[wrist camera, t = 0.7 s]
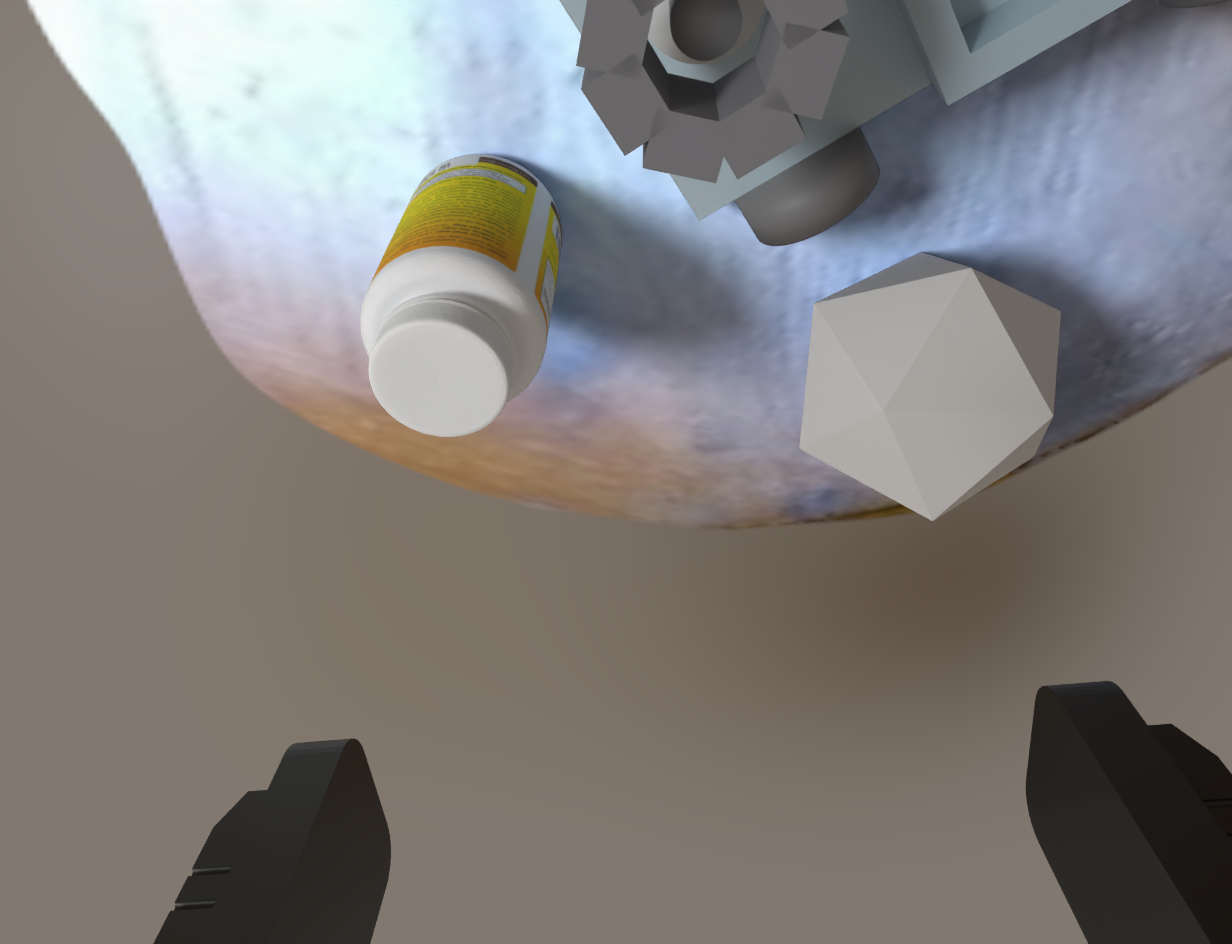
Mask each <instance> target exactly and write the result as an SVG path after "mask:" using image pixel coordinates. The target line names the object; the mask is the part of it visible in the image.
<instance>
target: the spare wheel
mask: <svg viewBox="0 0 1232 944" xmlns="http://www.w3.org/2000/svg"><path fill="white" fill-rule="evenodd" d="M663 1H665V0H587V4H586V10H585V16H584V22H583V28H582V34H581V40H580V46H579V52H578V58H577V64H576V66H580V67H584V68H585V71H584V76H583V82H582V88H581V90H582V91H583V93H584V94H585V96H586V97H587V99H588V100H589V102H590V103H591V105H592V106H593V108H594V110H595V111H596V113H597V114H598V116H599V117H600V119H601V120H602V122H603V123H604V125H605V126H606V128H607V129H608V131H609V132H610V134H611V135H612V137H613V138H614V140H615V141H616V143H617V145H618V146H619V148H620V149H621V151H622V152H623V154H624V155H627V154H629V153H630V152H632V151H633V150H635V149H636V148H638V147H639V146H641V145H643V168H645V169H650V170H655V171H660V172H664V173H669V174H674V175H678V176H683V177H688V178H693V179H697V180H702V181H707V182H712V183H716V182H717V179H718V175H719V172H720V168H721V165H722V161H723V158H725V159H726V161H727V163H728V164H729V166H730V168H731V169H732V171H733V173H734V174H735V176H736V178H737V180H738V179H740V178H741V177H743V176H745V175H746V174H748V173H750V172H751V171H753V170H755V169H756V168H758V167H760V166H761V165H763V164H765V163H766V162H768V161H770V160H771V159H773V158H775V157H776V156H778V155H780V154H781V153H783V152H785V151H786V150H788V149H790V148H791V147H793V146H795V145H796V144H798V143H800V142H801V141H803V140H805V139H806V136H805V134H804V131H803V128H802V126H801V123H800V120H799V118H798V115H801V116H806V117H810V118H815V119H819V120H822V117H823V114H824V111H825V108H826V105H827V102H828V99H829V96H830V94H831V91H832V88H833V85H834V82H835V79H836V76H837V73H838V70H839V67H840V64H841V62H842V59H843V56H844V53H845V50H846V47H847V44H848V41H849V38H850V36H849V35H848V33H847V32H846V30H845V28H844V27H843V25H842V24H841V22H840V20H839V19H838V18H840V17H842V16H843V15H845V14H846V13H848V12H849V10H848V8H847V6H846V4H845V1H844V0H763V1H764V3H765V5H766V7H767V9H768V10H767V13H766V17H765V20H764V24H763V27H762V31H761V34H760V38H759V42H758V45H757V49H756V52H755V56H754V57H752V58H751V59H749V60H748V61H746V62H745V63H743V64H742V65H740V66H738V67H737V68H735V69H734V70H732V71H731V72H729V73H728V74H726V75H725V76H723V77H722V78H720V79H718V80H717V81H715V82H714V83H710V82H706V81H701V80H697V79H692V78H688V77H683V76H679V75H674V74H670V73H667V71H666V69H665V68H664V66H663V64H662V63H661V61H660V59H659V58H658V56H657V54H656V53H655V51H654V49H653V47H652V46H651V44H650V42H649V41H648V34H649V29H650V24H651V20H652V15H653V10H654V8H655V7H656V6H658V5H659V4H661V3H662V2H663Z"/></svg>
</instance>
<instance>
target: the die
mask: <svg viewBox="0 0 1232 944" xmlns="http://www.w3.org/2000/svg"><path fill="white" fill-rule="evenodd" d="M1060 319H1061V311H1059V310H1057V309H1055V308H1053V307H1051V306H1049V305H1047V304H1045V303H1043V302H1041V301H1039V300H1037V299H1035V298H1033V297H1031V296H1028V295H1026V294H1024V293H1022V292H1020V291H1018V290H1016V289H1014V288H1012V287H1010V286H1008V285H1006V284H1004V283H1002V282H999V281H997V280H995V279H993V278H991V277H989V276H987V275H985V274H983V273H981V272H979V271H977V270H975V269H973V268H970V267H967V266H964V265H961V264H958V263H954V262H951V261H948V260H945V259H942V258H939V257H935V256H932V255H929V254H926V253H923V252H920V253H918V254H916V255H914V256H912V257H909V258H907V259H905V260H903V261H901V262H899V263H897V264H895V265H893V266H891V267H889V268H887V269H884V270H882V271H880V272H878V273H876V274H874V275H872V276H870V277H868V278H866V279H864V280H862V281H859V282H857V283H855V284H853V285H851V286H849V287H847V288H845V289H843V290H841V291H839V292H837V293H834V294H832V295H830V296H828V297H826V298H824V299H822V300H820V301H818V302H816V303H814V306H813V316H812V326H811V337H810V347H809V357H808V367H807V377H806V387H805V398H804V408H803V418H802V428H801V438H800V448H799V449H801V450H803V451H805V452H806V453H808V454H810V455H812V456H814V457H816V458H817V459H819V460H821V461H823V462H825V463H827V464H829V465H830V466H832V467H834V468H836V469H838V470H840V471H841V472H843V473H845V474H847V475H849V476H851V477H852V478H854V479H856V480H858V481H860V482H862V483H863V484H865V485H867V486H869V487H871V488H873V489H875V490H876V491H878V492H880V493H882V494H884V495H886V496H887V497H889V498H891V499H893V500H895V501H897V502H898V503H900V504H902V505H904V506H906V507H908V508H909V509H911V510H913V511H915V512H917V513H919V514H921V515H922V516H924V517H926V518H928V519H930V520H932V521H934V520H935V519H937V518H938V517H940V516H942V515H943V514H944V513H946V512H948V511H949V510H951V509H952V508H954V507H955V506H957V505H959V504H960V503H962V502H963V501H965V500H967V499H968V498H970V497H971V496H973V495H974V494H976V493H978V492H979V491H981V490H982V489H984V488H985V487H987V486H989V485H990V484H992V483H993V482H995V481H996V480H998V479H999V478H1001V477H1003V476H1004V475H1006V474H1007V473H1009V472H1010V471H1012V470H1014V469H1015V468H1017V467H1018V466H1020V465H1021V464H1023V463H1025V462H1026V461H1028V460H1029V459H1031V458H1032V457H1034V455H1035V453H1036V451H1037V449H1038V447H1039V445H1040V443H1041V441H1042V439H1043V437H1044V435H1045V433H1046V431H1047V428H1048V426H1049V424H1050V422H1051V420H1052V418H1053V415H1054V402H1055V388H1056V374H1057V360H1058V347H1059V333H1060Z"/></svg>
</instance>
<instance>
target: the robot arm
mask: <svg viewBox="0 0 1232 944" xmlns="http://www.w3.org/2000/svg"><path fill="white" fill-rule="evenodd" d="M1034 707H1035V708H1034V716H1033V724H1032V733H1031V741H1030V750H1029V760H1028V768H1027V777H1026V798H1027V805H1028V811H1029V816H1030V819H1031V823H1032V826H1033V829H1034V832H1035V835H1036V837H1037V840H1038V842H1039V844H1040V846H1041V848H1042V850H1043V852H1044V854H1045V856H1046V858H1047V860H1048V862H1049V864H1050V866H1051V869H1052V870H1053V873H1054V875H1055V877H1056V879H1057V881H1058V883H1059V885H1060V887H1061V889H1062V891H1063V893H1064V895H1065V897H1066V899H1067V901H1068V903H1069V905H1070V907H1071V909H1072V911H1073V913H1074V915H1075V917H1076V919H1077V921H1078V923H1079V926H1080V928H1081V930H1082V932H1083V934H1084V936H1085V938H1086V940H1087V942H1088V944H1232V774H1231V773H1230V772H1229V770H1228V769H1227V768H1226V767H1225V765H1224V764H1223V763H1222V761H1221V760H1220V759H1219V758H1218V756H1216V755H1215V754H1213V753H1212V752H1211V751H1209V750H1208V749H1206V748H1205V747H1203V746H1202V745H1201V744H1199V743H1198V742H1196V741H1195V740H1193V739H1192V738H1191V737H1189V736H1188V735H1186V734H1185V733H1184V732H1182V731H1181V730H1179V729H1178V728H1177V727H1175V726H1174V725H1172V724H1162V725H1149V726H1148V725H1147V724H1146V723H1145V721H1144V720H1143V718H1142V717H1141V716H1140V714H1139V713H1138V712H1137V710H1136V709H1135V707H1134V706H1133V705H1132V703H1131V702H1130V700H1129V699H1128V698H1127V696H1126V695H1125V694H1124V692H1123V691H1122V690H1121V689H1120V687H1119V686H1117V685H1116V684H1115V683H1113V682H1111V681H1102V682H1090V683H1089V682H1088V683H1075V684H1063V685H1050V686H1042V687H1041V688H1040V689H1039V690H1038V692H1037V695H1036V699H1035V706H1034ZM390 845H391V844H390V834H389V829H388V825H387V822H386V818H385V815H384V813H383V809H382V806H381V803H380V800H379V796H378V793H377V790H376V787H375V784H374V781H373V778H372V775H371V771H370V768H369V765H368V762H367V759H366V756H365V753H364V750H363V747H362V746H361V744H360V742H359V741H358V740H356V739H343V740H342V739H341V740H329V741H317V742H304V743H295V744H292V745H291V746H290V747H289V748H288V749H287V751H286V752H285V754H284V756H283V758H282V760H281V763H280V764H279V767H278V769H277V771H276V773H275V775H274V777H273V779H272V782H271V784H270V786H269V788H268V790H262V791H248V792H247V793H246V794H245V795H244V796H243V797H242V798H241V800H239V802H238V803H237V804H236V805H235V806H234V807H233V808H232V809H231V810H230V811H229V812H228V813H227V814H226V815H225V816H224V817H223V818H222V819H221V820H220V821H219V822H218V823H217V824H216V825H215V826H214V827H213V829H212V831H211V833H210V835H209V837H208V839H207V841H206V843H205V845H204V847H203V849H202V851H201V852H200V854H199V857H198V858H197V860H196V862H195V864H194V866H193V874H192V876H188V878H187V880H186V882H185V883H184V885H183V887H182V889H181V891H180V893H179V895H178V897H177V899H176V901H175V909H174V911H170V913H169V914H168V917H167V918H166V920H165V922H164V924H163V926H162V928H161V930H160V932H159V934H158V936H157V938H156V940H155V942H154V944H370V942H371V939H372V935H373V932H374V928H375V925H376V921H377V918H378V914H379V911H380V907H381V903H382V900H383V896H384V893H385V889H386V886H387V882H388V877H389V870H390V860H391V859H390V858H391V846H390Z"/></svg>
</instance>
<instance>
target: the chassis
mask: <svg viewBox="0 0 1232 944" xmlns="http://www.w3.org/2000/svg"><path fill="white" fill-rule="evenodd" d="M844 1H845V4H846V6H847V8H848V10H849V12H848V13H846V14H845V15H843V16H842V17H840V18H838V19H839V20H840V22H841V24H842V25H843V27H844V28H845V30H846V32H847V33H848V35H849V36H850V38H849V41H848V44H847V47H846V50H845V53H844V56H843V59H842V62H841V64H840V67H839V70H838V73H837V76H836V79H835V82H834V85H833V88H832V91H831V94H830V96H829V99H828V102H827V105H826V108H825V111H824V114H823V117H822V120H819V119H815V118H810V117H806V116H801V115H798V118H799V120H800V123H801V126H802V128H803V131H804V134H805V136H806V139H805V140H803V141H801V142H800V143H798V144H796V145H795V146H793V147H791V148H790V149H788V150H786V151H785V152H783V153H781V154H780V155H778V156H776V157H775V158H773V159H771V160H770V161H768V162H766V163H765V164H763V165H761V166H760V167H758V168H756V169H755V170H753V171H751V172H750V173H748V174H746V175H745V176H743V177H741V178H740V179H738V180H737V178H736V176H735V174H734V173H733V171H732V169H731V168H730V166H729V164H728V163H727V161H726V159H725V158H723V161H722V165H721V168H720V172H719V175H718V179H717V182H716V183H712V182H707V181H702V180H697V179H693V178H688V177H683V176H678V175H674V174H670V175H671V177H672V179H673V180H674V182H675V183H676V185H677V186H678V188H679V190H680V191H681V193H682V194H683V196H684V197H685V199H686V201H687V202H688V204H689V205H690V207H691V209H692V210H693V212H694V213H695V215H696V216H697V218H698V220H699V221H700V220H701V219H703V218H705V217H706V216H708V215H710V214H712V213H713V212H715V211H717V210H718V209H720V208H722V207H723V206H725V205H727V204H729V203H730V202H732V201H734V200H735V202H736V204H737V205H738V207H739V209H740V210H741V212H742V214H743V215H744V217H745V219H746V220H747V222H748V224H749V225H750V227H751V229H752V230H753V232H754V234H755V235H756V237H757V239H758V240H759V241H760V242H761V243H763V244H766V245H770V246H783V245H789V244H793V243H797V242H800V241H803V240H805V239H808V238H810V237H813V236H815V235H817V234H819V233H821V232H823V231H825V230H827V229H828V228H830V227H832V226H834V225H835V224H837V223H838V222H840V221H841V220H843V219H844V218H845V217H846V216H848V215H849V214H850V213H852V212H853V211H854V210H855V209H856V208H857V207H858V206H859V205H860V204H861V203H862V202H863V201H864V200H865V199H866V198H867V197H868V196H869V194H870V193H871V192H872V190H873V189H874V187H875V185H876V184H877V181H878V179H879V174H880V169H879V166H878V163H877V161H876V159H875V157H874V155H873V153H872V151H871V149H870V147H869V145H868V143H867V141H866V139H865V137H864V135H863V133H862V130H861V128H860V126H861V125H862V124H864V123H866V122H868V121H869V120H871V119H873V118H874V117H876V116H878V115H879V114H881V113H883V112H884V111H886V110H888V109H890V108H891V107H893V106H895V105H896V104H898V103H900V102H901V101H903V100H905V99H906V98H908V97H910V96H912V95H913V94H915V93H917V92H918V91H920V90H922V89H923V88H925V87H927V86H929V85H930V84H932V86H933V87H934V88H935V89H936V91H937V92H938V93H939V95H940V96H941V97H942V99H943V100H944V101H945V103H946V104H947V105H948V106H949V105H951V104H953V103H954V102H956V101H958V100H959V99H961V98H963V97H965V96H966V95H968V94H970V93H972V92H973V91H975V90H977V89H979V88H980V87H982V86H984V85H986V84H987V83H989V82H991V81H992V80H994V79H996V78H998V77H999V76H1001V75H1003V74H1005V73H1006V72H1008V71H1010V70H1012V69H1013V68H1015V67H1017V66H1018V65H1020V64H1022V63H1024V62H1025V61H1027V60H1029V59H1031V58H1032V57H1034V56H1036V55H1038V54H1039V53H1041V52H1043V51H1044V50H1046V49H1048V48H1050V47H1051V46H1053V45H1055V44H1057V43H1058V42H1060V41H1062V40H1064V39H1065V38H1067V37H1069V36H1071V35H1072V34H1074V33H1076V32H1077V31H1079V30H1081V29H1083V28H1084V27H1086V26H1088V25H1090V24H1091V23H1093V22H1095V21H1097V20H1098V19H1100V18H1102V17H1103V16H1105V15H1107V14H1109V13H1110V12H1112V11H1114V10H1116V9H1117V8H1119V7H1121V6H1123V5H1124V4H1126V3H1128V2H1129V1H1131V0H844ZM1158 1H1159V2H1160V3H1161V4H1163V5H1165V6H1168V7H1173V8H1191V7H1199V6H1205V5H1210V4H1214V3H1218V2H1222V1H1226V0H1158ZM560 2H561V4H562V5H563V7H564V8H565V10H566V12H567V13H568V15H569V16H570V18H571V19H572V21H573V23H574V24H575V26H576V27H577V29H578V30H579V32H580V34H582V28H583V22H584V16H585V10H586V4H587V0H560ZM767 10H768V9H767V7H766V5H765V3H764V1H763V0H665V1H663V2H662V3H661V4H659V5H658V6H656V7H655V8H654V10H653V15H652V20H651V24H650V29H649V34H648V41H649V42H650V44H651V46H652V47H653V49H654V51H655V53H656V54H657V56H658V58H659V59H660V61H661V63H662V64H663V66H664V68H665V69H666V71H667V73H670V74H674V75H679V76H683V77H688V78H692V79H697V80H701V81H706V82H710V83H714V82H715V81H717V80H718V79H720V78H722V77H723V76H725V75H726V74H728V73H729V72H731V71H732V70H734V69H735V68H737V67H738V66H740V65H742V64H743V63H745V62H746V61H748V60H749V59H751V58H752V57H754V56H755V52H756V49H757V45H758V42H759V38H760V34H761V31H762V27H763V24H764V20H765V17H766V13H767Z"/></svg>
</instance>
